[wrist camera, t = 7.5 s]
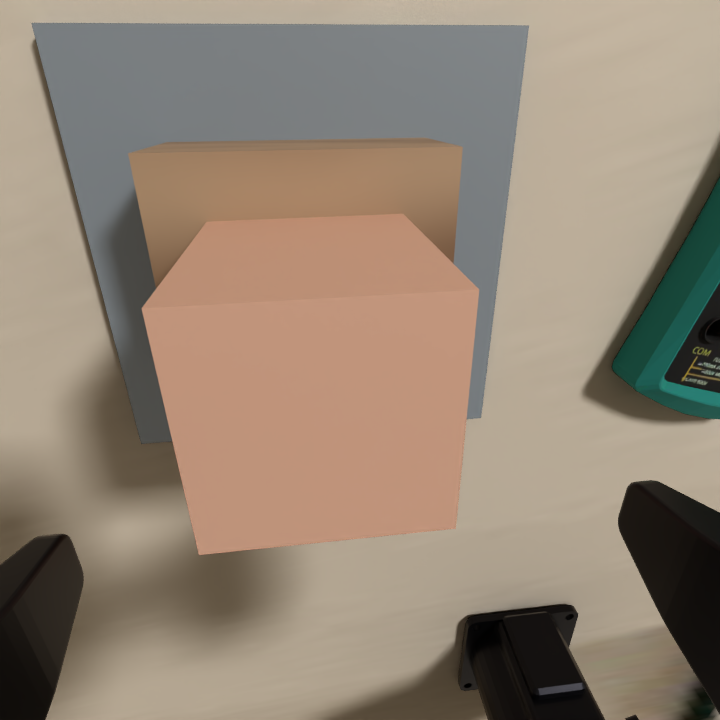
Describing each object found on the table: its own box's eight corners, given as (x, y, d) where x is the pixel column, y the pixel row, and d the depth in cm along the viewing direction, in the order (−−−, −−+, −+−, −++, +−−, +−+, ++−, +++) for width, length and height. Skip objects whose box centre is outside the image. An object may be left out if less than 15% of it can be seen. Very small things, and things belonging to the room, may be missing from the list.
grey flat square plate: (476, 410, 22) (480, 417, 21) (145, 434, 20) (141, 443, 20) (520, 28, 15) (529, 25, 15) (41, 25, 14) (31, 22, 13)
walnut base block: (415, 360, 20) (441, 416, 16) (206, 373, 19) (186, 435, 15) (425, 137, 16) (463, 146, 12) (166, 141, 15) (128, 153, 12)
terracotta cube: (399, 380, 15) (455, 528, 10) (233, 393, 15) (199, 555, 9) (403, 213, 13) (479, 289, 8) (206, 221, 12) (141, 308, 7)
